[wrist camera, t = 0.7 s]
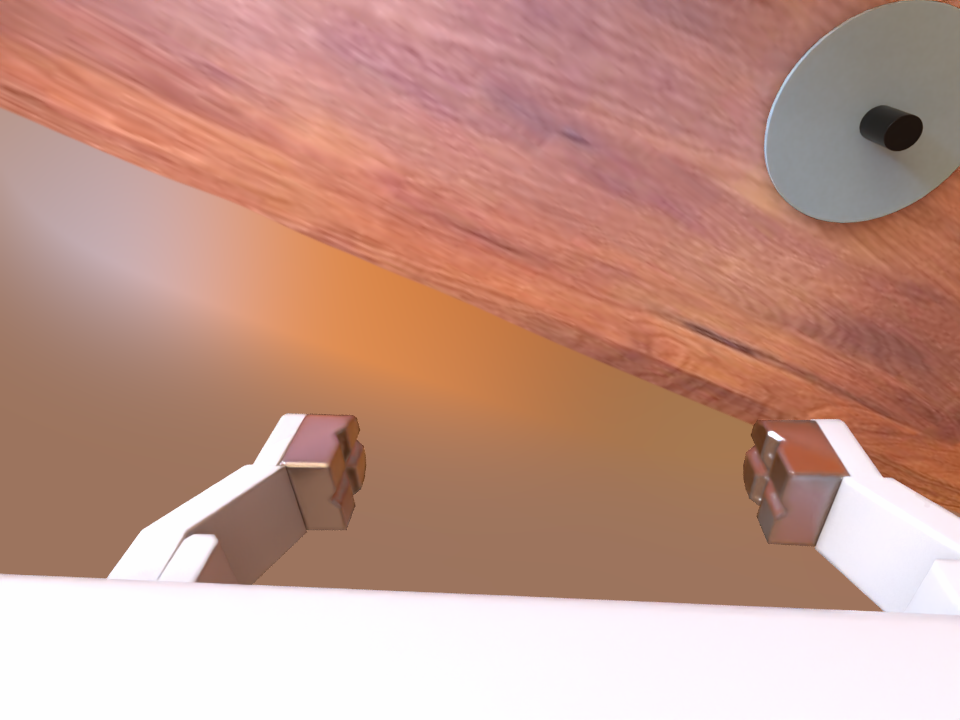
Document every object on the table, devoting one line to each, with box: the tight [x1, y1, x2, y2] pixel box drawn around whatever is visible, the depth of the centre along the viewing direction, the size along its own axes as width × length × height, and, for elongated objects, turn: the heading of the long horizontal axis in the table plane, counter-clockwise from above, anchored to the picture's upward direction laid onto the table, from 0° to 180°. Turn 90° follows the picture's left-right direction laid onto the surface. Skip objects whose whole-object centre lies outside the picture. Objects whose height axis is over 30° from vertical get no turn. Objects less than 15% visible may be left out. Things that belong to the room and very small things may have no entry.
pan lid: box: [764, 0, 960, 223], centre depth 45 cm, size 17×17×5 cm
